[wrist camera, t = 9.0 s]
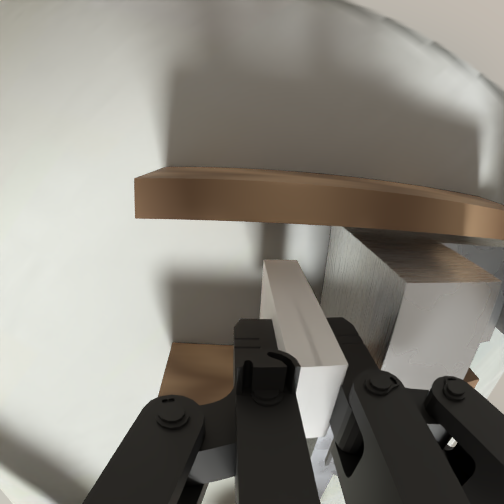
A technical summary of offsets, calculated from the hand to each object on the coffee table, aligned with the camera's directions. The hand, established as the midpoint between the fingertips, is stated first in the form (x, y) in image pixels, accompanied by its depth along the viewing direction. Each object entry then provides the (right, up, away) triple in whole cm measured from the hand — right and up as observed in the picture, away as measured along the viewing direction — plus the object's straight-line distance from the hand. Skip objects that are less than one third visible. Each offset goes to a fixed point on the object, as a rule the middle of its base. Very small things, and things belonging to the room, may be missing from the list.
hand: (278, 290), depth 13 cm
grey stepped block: (+7, 0, +2) cm, 8 cm away
